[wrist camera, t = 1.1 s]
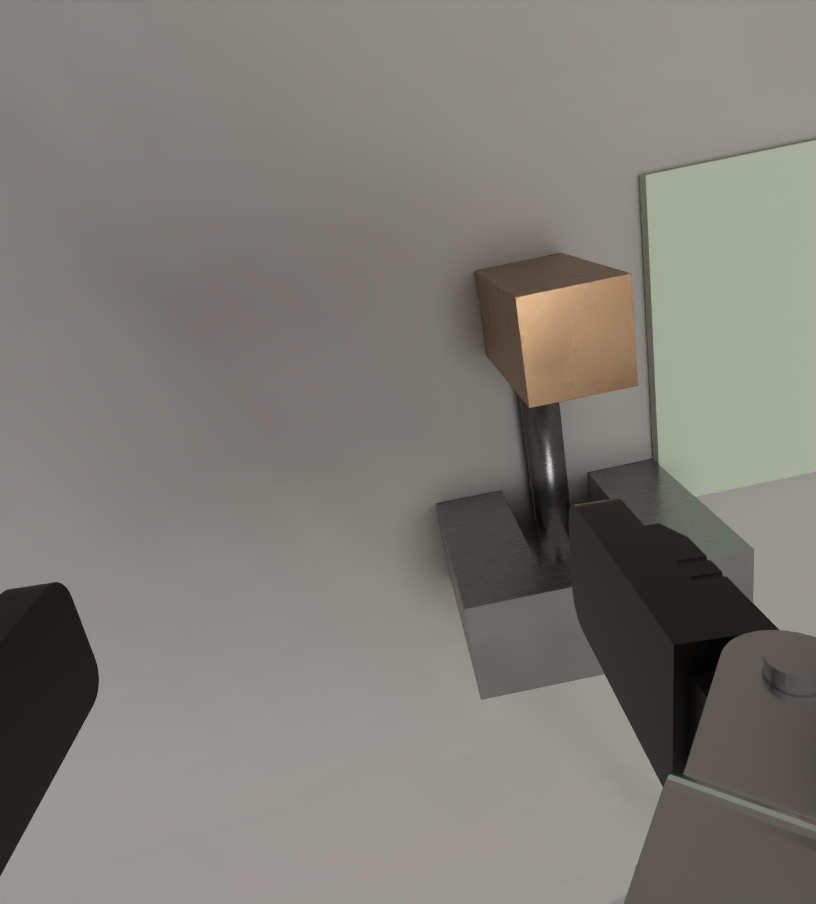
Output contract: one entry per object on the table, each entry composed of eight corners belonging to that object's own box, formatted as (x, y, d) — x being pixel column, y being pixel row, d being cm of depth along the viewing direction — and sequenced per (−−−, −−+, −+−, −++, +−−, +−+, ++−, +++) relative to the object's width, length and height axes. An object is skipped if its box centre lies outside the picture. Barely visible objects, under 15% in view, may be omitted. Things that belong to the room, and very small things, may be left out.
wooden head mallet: (474, 270, 26) (515, 297, 19) (561, 253, 26) (631, 273, 19) (526, 624, 32) (569, 733, 26) (595, 609, 32) (656, 714, 26)
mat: (639, 175, 25) (645, 175, 24) (895, 122, 25) (907, 121, 24) (654, 498, 30) (660, 503, 30) (866, 454, 30) (875, 459, 30)
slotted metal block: (436, 504, 29) (463, 609, 22) (652, 459, 29) (753, 549, 22) (450, 577, 31) (481, 699, 23) (656, 535, 31) (752, 643, 24)
